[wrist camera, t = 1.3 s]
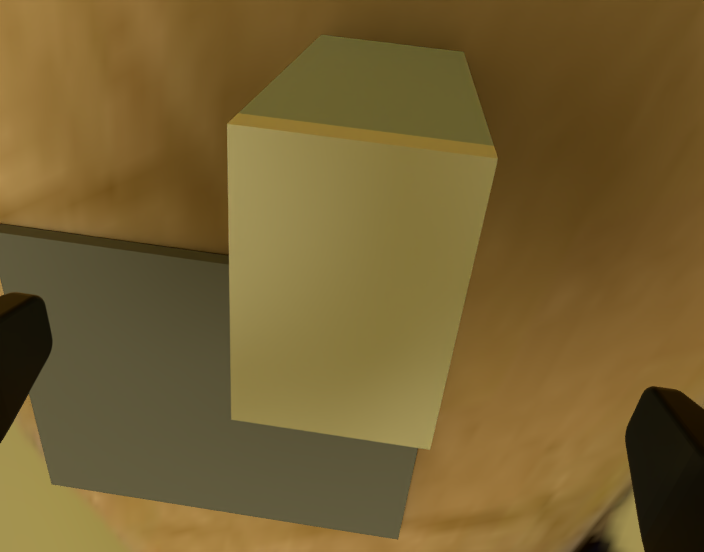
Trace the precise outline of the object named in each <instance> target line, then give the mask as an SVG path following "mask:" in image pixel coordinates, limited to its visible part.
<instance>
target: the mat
mask: <svg viewBox="0 0 704 552" xmlns="http://www.w3.org/2000/svg"><path fill="white" fill-rule="evenodd" d="M0 279H1V283H2V287H3V291H4V295H5V294H8V293H11V292H20V293H26V294H33V295H38V296H40V297H41V298H42V299H43V300H44V302H45V305H46V309H47V314H48V319H49V323H50V328H51V333H52V338H53V345H52V350H51V353H50V355H49V357H48V359H47V361H46V363H45V365H44V367H43V368H42V370H41V372H40V374H39V376H38V377H37V379H36V381H35V383H34V385H33V387H32V388H31V390H30V392H29V395H30V399H31V403H32V407H33V411H34V415H35V419H36V423H37V427H38V431H39V435H40V439H41V443H42V447H43V451H44V455H45V459H46V463H47V467H48V471H49V475H50V479H51V483H52V484H53V485H60V486H66V487H72V488H78V489H85V490H91V491H97V492H103V493H110V494H116V495H122V496H129V497H135V498H141V499H147V500H154V501H160V502H166V503H172V504H179V505H185V506H191V507H197V508H204V509H210V510H216V511H223V512H229V513H235V514H241V515H248V516H254V517H260V518H266V519H273V520H279V521H285V522H291V523H298V524H304V525H310V526H316V527H323V528H329V529H335V530H342V531H348V532H354V533H360V534H367V535H373V536H379V537H385V538H392V539H398V537H399V533H400V528H401V523H402V519H403V514H404V510H405V505H406V500H407V496H408V491H409V487H410V482H411V478H412V473H413V468H414V464H415V459H416V455H417V450H418V448H415V447H408V446H401V445H395V444H388V443H382V442H375V441H368V440H362V439H355V438H349V437H342V436H336V435H329V434H322V433H316V432H309V431H303V430H296V429H290V428H283V427H276V426H270V425H263V424H257V423H250V422H244V421H237V420H231V369H230V298H229V256H228V255H220V254H213V253H206V252H199V251H192V250H184V249H177V248H170V247H163V246H156V245H149V244H141V243H134V242H127V241H120V240H113V239H105V238H98V237H91V236H84V235H77V234H70V233H62V232H55V231H48V230H41V229H34V228H26V227H19V226H12V225H5V224H0Z"/></svg>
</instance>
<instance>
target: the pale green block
mask: <svg viewBox="0 0 704 552" xmlns="http://www.w3.org/2000/svg"><path fill="white" fill-rule="evenodd" d="M227 156H228V227H229V298H230V369H231V420H237V421H244V422H250V423H257V424H263V425H270V426H276V427H283V428H290V429H296V430H303V431H309V432H316V433H322V434H329V435H336V436H342V437H349V438H355V439H362V440H368V441H375V442H382V443H388V444H395V445H401V446H408V447H415V448H421V449H428V450H430V448H431V444H432V439H433V435H434V431H435V426H436V422H437V418H438V414H439V409H440V405H441V401H442V396H443V392H444V388H445V384H446V379H447V375H448V371H449V367H450V362H451V358H452V354H453V349H454V345H455V341H456V337H457V332H458V328H459V324H460V319H461V315H462V311H463V307H464V302H465V298H466V294H467V290H468V285H469V281H470V277H471V272H472V268H473V264H474V260H475V255H476V251H477V247H478V242H479V238H480V234H481V230H482V225H483V221H484V217H485V213H486V208H487V204H488V200H489V195H490V191H491V187H492V183H493V178H494V174H495V170H496V165H497V161H498V157H497V154H496V151H495V148H494V144H493V141H492V138H491V135H490V132H489V129H488V126H487V123H486V120H485V116H484V113H483V110H482V107H481V104H480V101H479V98H478V95H477V92H476V88H475V85H474V82H473V79H472V76H471V73H470V70H469V67H468V64H467V60H466V57H465V54H464V52H461V51H453V50H444V49H436V48H428V47H420V46H411V45H403V44H395V43H387V42H378V41H370V40H362V39H353V38H345V37H337V36H329V35H320V36H319V37H318V38H317V39H316V40H315V41H314V42H313V43H312V44H311V45H310V46H309V47H308V48H307V49H305V50H304V51H303V52H302V53H301V54H300V55H299V56H298V57H297V58H296V59H295V60H294V61H293V62H292V63H291V64H290V65H289V66H288V67H286V68H285V69H284V70H283V71H282V72H281V73H280V74H279V75H278V76H277V77H276V78H275V79H274V80H273V81H272V82H271V83H270V84H269V85H267V86H266V87H265V88H264V89H263V90H262V91H261V92H260V93H259V94H258V95H257V96H256V97H255V98H254V99H253V100H252V101H251V102H250V103H248V104H247V105H246V106H245V107H244V108H243V109H242V110H241V111H240V112H239V113H238V114H237V115H236V116H235V117H234V118H233V119H232V120H231V121H229V122H228V123H227Z"/></svg>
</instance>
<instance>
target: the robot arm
mask: <svg viewBox="0 0 704 552" xmlns="http://www.w3.org/2000/svg"><path fill="white" fill-rule="evenodd" d="M52 345H53V338H52V333H51V328H50V323H49V319H48V314H47V309H46V305H45V302H44V300H43V299H42V298H41V297H40V296H38V295H33V294H26V293H20V292H11V293H8V294H5V295H2V296H0V443H1V441H2V440H3V438H4V437H5V435H6V433H7V432H8V430H9V428H10V427H11V425H12V423H13V421H14V419H15V418H16V416H17V414H18V412H19V410H20V409H21V407H22V405H23V403H24V401H25V399H26V398H27V396H28V394H29V392H30V390H31V388H32V387H33V385H34V383H35V381H36V379H37V377H38V376H39V374H40V372H41V370H42V368H43V367H44V365H45V363H46V361H47V359H48V357H49V355H50V353H51V350H52ZM625 442H626V449H627V455H628V461H629V467H630V473H631V480H632V486H633V492H634V498H635V504H636V510H637V516H638V522H639V528H640V533H641V537H642V542H643V546H644V550H645V552H704V409H703V408H702V407H700V406H699V405H698V404H696V403H695V402H694V401H693V400H691V399H690V398H689V397H687V396H686V395H685V394H684V393H682V392H681V391H679V390H675V389H669V388H662V387H655V386H651V387H649V388H647V389H646V390H645V391H644V392H643V394H642V396H641V398H640V400H639V402H638V404H637V406H636V409H635V411H634V413H633V415H632V417H631V419H630V421H629V423H628V426H627V429H626V435H625Z"/></svg>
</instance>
